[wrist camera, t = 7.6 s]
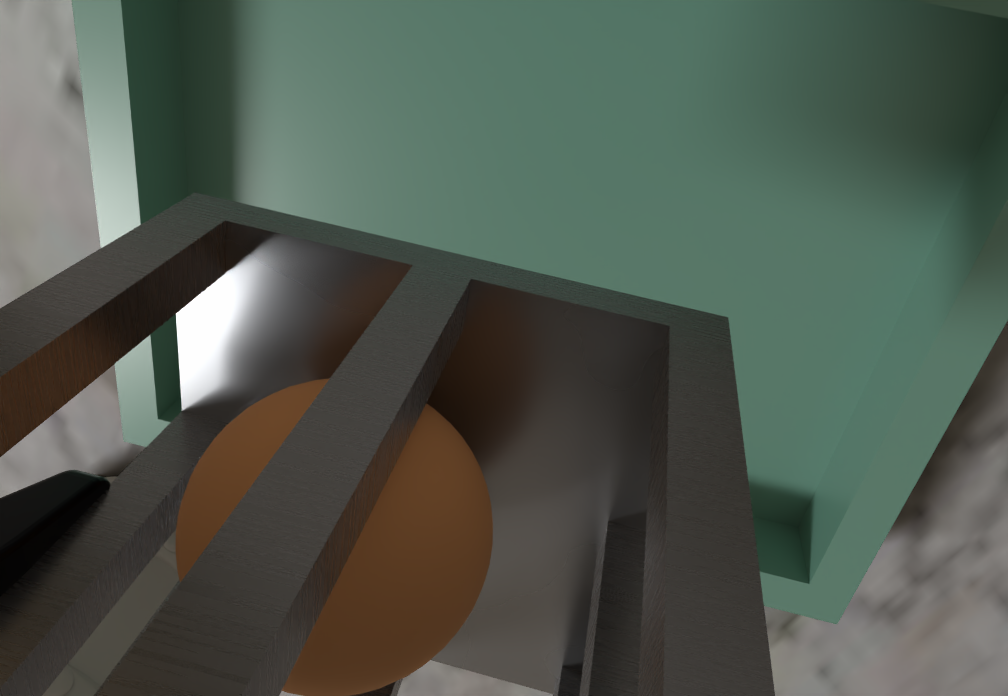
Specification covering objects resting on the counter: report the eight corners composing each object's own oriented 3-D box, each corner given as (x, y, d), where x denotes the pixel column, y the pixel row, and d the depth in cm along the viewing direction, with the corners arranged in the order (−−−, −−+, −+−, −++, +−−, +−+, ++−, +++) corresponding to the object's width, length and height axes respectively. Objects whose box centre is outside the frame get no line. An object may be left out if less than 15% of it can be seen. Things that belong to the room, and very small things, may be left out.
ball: (540, 386, 9) (434, 410, 6) (516, 652, 9) (404, 806, 6) (301, 358, 10) (108, 370, 7) (283, 601, 10) (88, 715, 7)
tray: (1117, -37, 13) (1200, -25, 11) (820, 549, 21) (837, 624, 18) (134, -216, 15) (43, -235, 13) (177, 389, 22) (123, 441, 20)
